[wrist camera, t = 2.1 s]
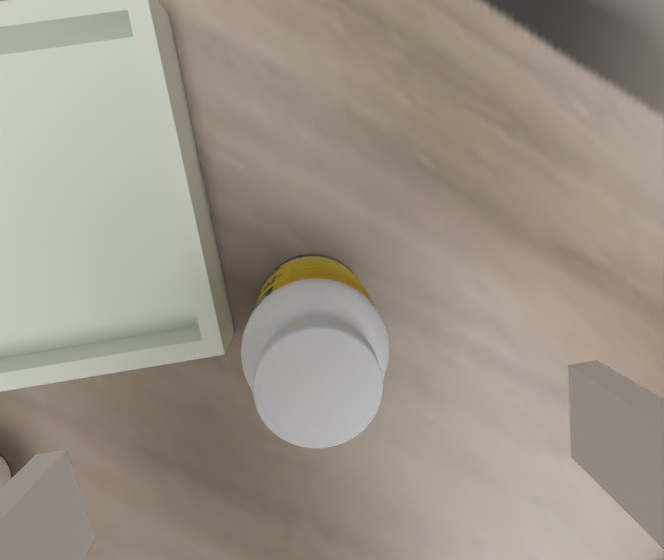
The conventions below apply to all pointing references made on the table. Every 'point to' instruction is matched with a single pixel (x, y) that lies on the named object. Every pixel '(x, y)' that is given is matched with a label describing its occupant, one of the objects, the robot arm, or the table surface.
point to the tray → (100, 197)
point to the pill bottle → (315, 353)
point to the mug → (4, 472)
